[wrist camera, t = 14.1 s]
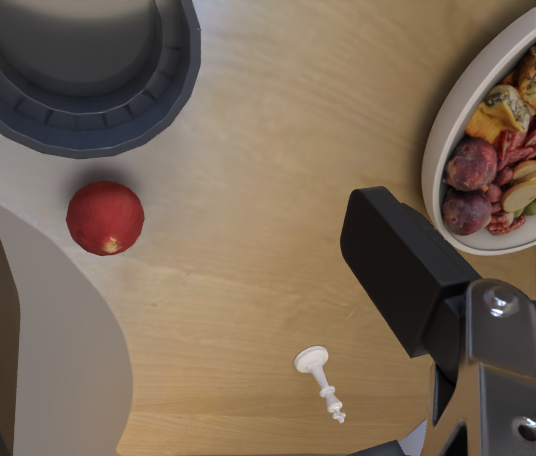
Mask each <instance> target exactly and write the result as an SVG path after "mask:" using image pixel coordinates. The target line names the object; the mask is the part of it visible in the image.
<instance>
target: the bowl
mask: <svg viewBox="0 0 536 456" xmlns="http://www.w3.org/2000/svg"><path fill="white" fill-rule="evenodd" d="M421 178H422V193H423V199H424V203H425V207H426V210H427V212H428V215H429V217H430V219H431V221H432V223H433V224H434V226H435V227H436V229H437V230H438V231H439V232H440V233H441V235H442V236H443V237H444V238H445V239H446V240H447V241H448V242H449V243H450V244H452V245H453V246H454V247H456V248H458V249H460V250H462V251H464V252H467V253H471V254H476V255H500V254H507V253H512V252H515V251H519V250H522V249H525V248H528V247H531V246H534V245H536V7H534V8H533V9H531V10H529V11H528V12H527V13H525V14H524V15H522V16H521V17H519V18H518V19H517V20H515V21H514V22H513V23H511V24H510V25H509V26H508V27H506V28H505V29H504V30H503V31H502V32H501V33H499V34H498V35H497V36H496V37H495V38H494V39H493V40H492V41H491V42H490V43H489V44H488V45H487V46H486V47H485V48H484V49H483V50H482V51H481V52H480V53H479V54H478V55H477V56H476V57H475V59H474V60H473V61H472V62H471V63H470V64H469V66H468V67H467V68H466V70H465V71H464V72H463V73H462V75H461V76H460V78H459V79H458V80H457V82H456V83H455V85H454V86H453V88H452V89H451V91H450V92H449V94H448V96H447V97H446V99H445V101H444V103H443V105H442V106H441V108H440V110H439V113H438V115H437V117H436V119H435V121H434V124H433V126H432V129H431V132H430V134H429V137H428V141H427V144H426V148H425V152H424V157H423V164H422V176H421Z"/></svg>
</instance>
